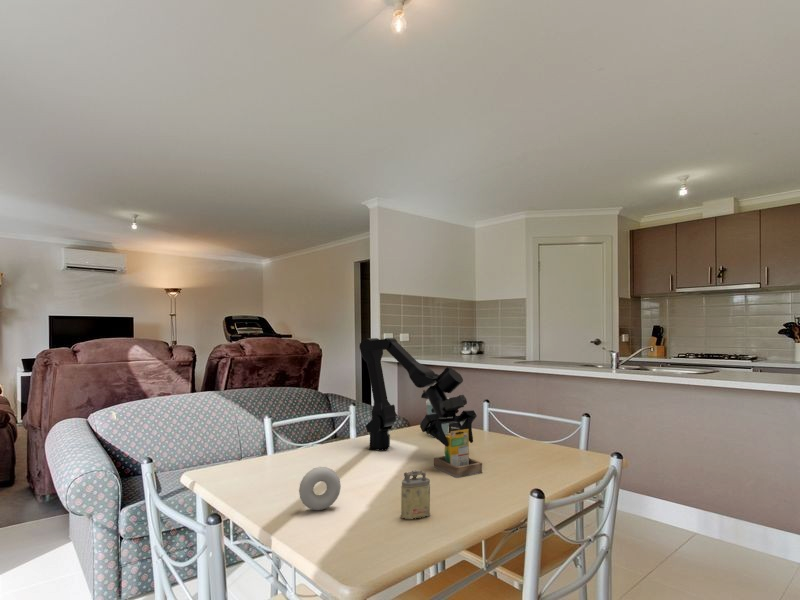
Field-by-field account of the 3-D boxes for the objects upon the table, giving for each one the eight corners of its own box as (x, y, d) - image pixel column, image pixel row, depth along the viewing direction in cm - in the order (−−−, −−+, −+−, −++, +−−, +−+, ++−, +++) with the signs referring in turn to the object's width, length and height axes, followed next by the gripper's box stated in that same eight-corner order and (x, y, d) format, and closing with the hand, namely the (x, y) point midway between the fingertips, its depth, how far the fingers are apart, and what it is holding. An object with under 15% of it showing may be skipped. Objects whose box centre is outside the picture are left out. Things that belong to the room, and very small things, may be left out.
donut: (338, 504, 113) (338, 462, 114) (342, 509, 110) (342, 466, 111) (297, 510, 110) (298, 467, 110) (300, 515, 106) (300, 471, 107)
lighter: (426, 510, 110) (426, 468, 110) (433, 517, 106) (433, 472, 107) (398, 515, 107) (398, 471, 108) (404, 521, 104) (405, 476, 104)
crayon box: (463, 464, 144) (463, 427, 145) (469, 467, 142) (469, 428, 142) (444, 468, 141) (444, 429, 141) (450, 470, 138) (450, 431, 139)
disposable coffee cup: (423, 438, 180) (423, 399, 181) (427, 432, 190) (428, 395, 191) (450, 440, 177) (450, 400, 178) (453, 433, 188) (453, 396, 189)
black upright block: (446, 451, 162) (447, 418, 162) (453, 449, 165) (453, 416, 165) (463, 455, 157) (463, 421, 158) (469, 453, 160) (469, 419, 160)
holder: (456, 477, 134) (456, 467, 134) (433, 466, 144) (433, 457, 144) (482, 472, 138) (481, 463, 139) (458, 462, 149) (458, 453, 149)
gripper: (425, 388, 141) (446, 432, 131) (473, 384, 151) (496, 425, 140) (411, 410, 148) (430, 453, 137) (458, 405, 157) (479, 445, 147)
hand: (460, 444), depth 140 cm, fingers open, 9 cm apart
